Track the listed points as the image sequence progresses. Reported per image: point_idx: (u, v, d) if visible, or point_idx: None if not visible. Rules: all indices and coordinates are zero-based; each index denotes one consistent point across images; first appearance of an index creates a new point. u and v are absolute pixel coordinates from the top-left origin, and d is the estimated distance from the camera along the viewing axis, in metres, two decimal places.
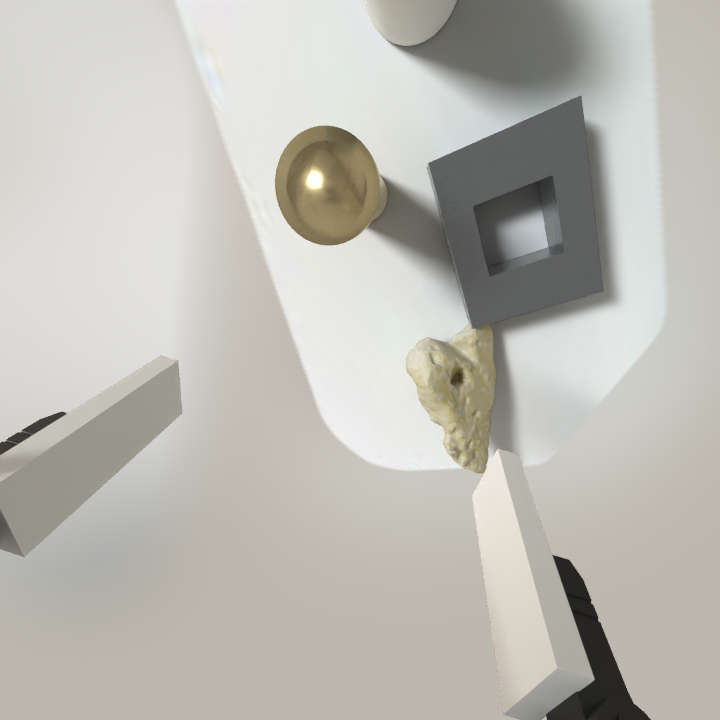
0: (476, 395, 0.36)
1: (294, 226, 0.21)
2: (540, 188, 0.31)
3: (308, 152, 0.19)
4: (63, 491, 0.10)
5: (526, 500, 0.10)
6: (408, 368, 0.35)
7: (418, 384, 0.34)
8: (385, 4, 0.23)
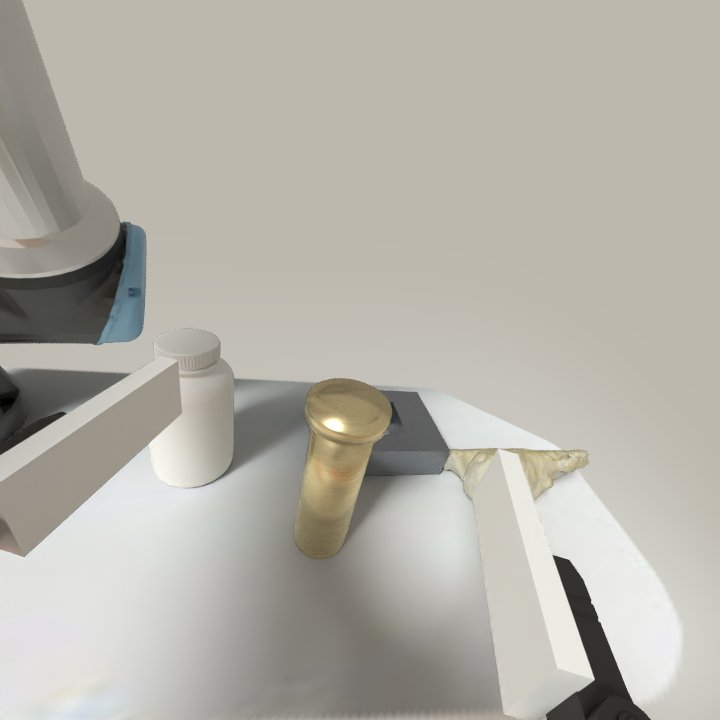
0: None
1: (373, 428, 0.23)
2: None
3: (321, 403, 0.24)
4: (63, 491, 0.10)
5: (526, 500, 0.10)
6: None
7: None
8: (217, 435, 0.32)
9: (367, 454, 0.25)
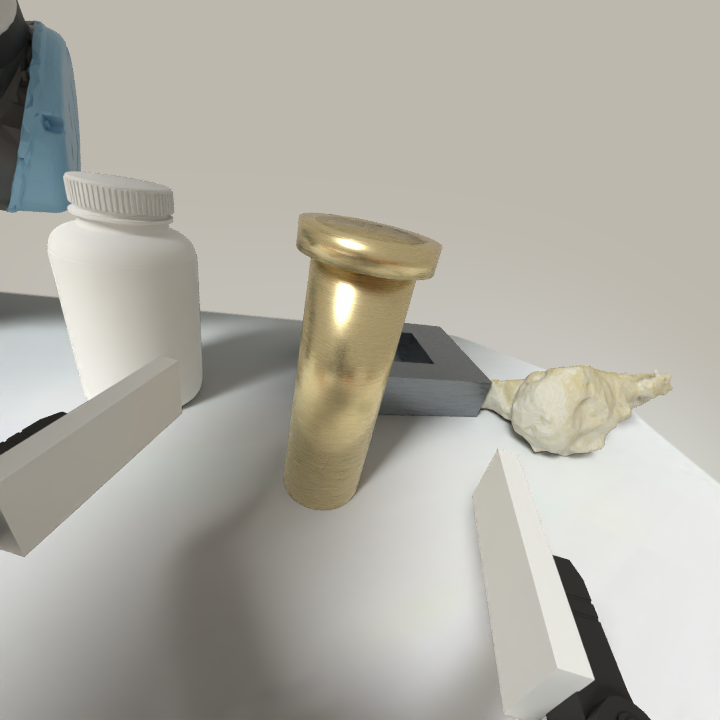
0: None
1: (417, 248, 0.13)
2: None
3: (324, 222, 0.14)
4: (63, 491, 0.10)
5: (526, 500, 0.10)
6: (567, 411, 0.25)
7: (585, 388, 0.25)
8: (171, 336, 0.22)
9: (400, 321, 0.15)
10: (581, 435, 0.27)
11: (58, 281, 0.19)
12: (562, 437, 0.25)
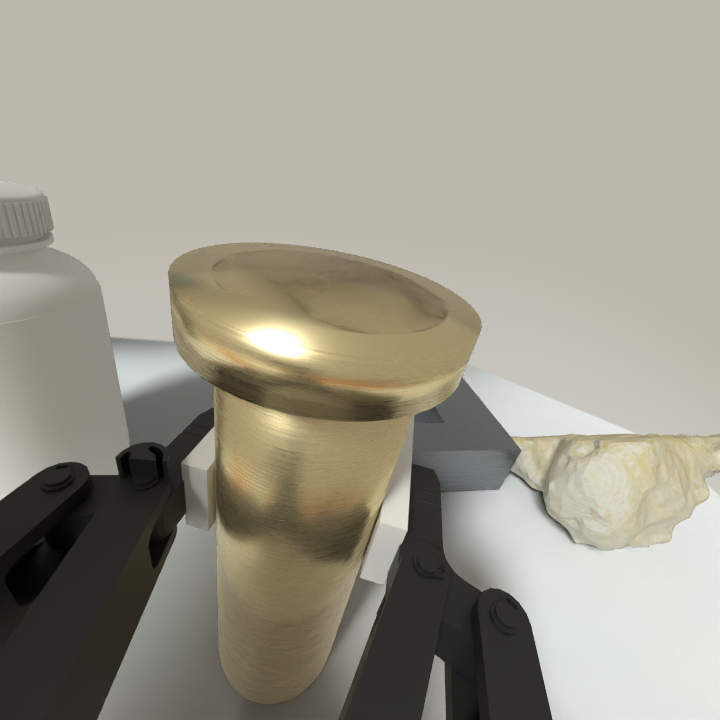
0: (609, 435, 0.24)
1: (431, 346, 0.05)
2: None
3: (230, 271, 0.07)
4: None
5: None
6: (631, 505, 0.17)
7: (655, 472, 0.18)
8: (52, 416, 0.15)
9: (393, 456, 0.08)
10: None
11: None
12: (621, 537, 0.18)
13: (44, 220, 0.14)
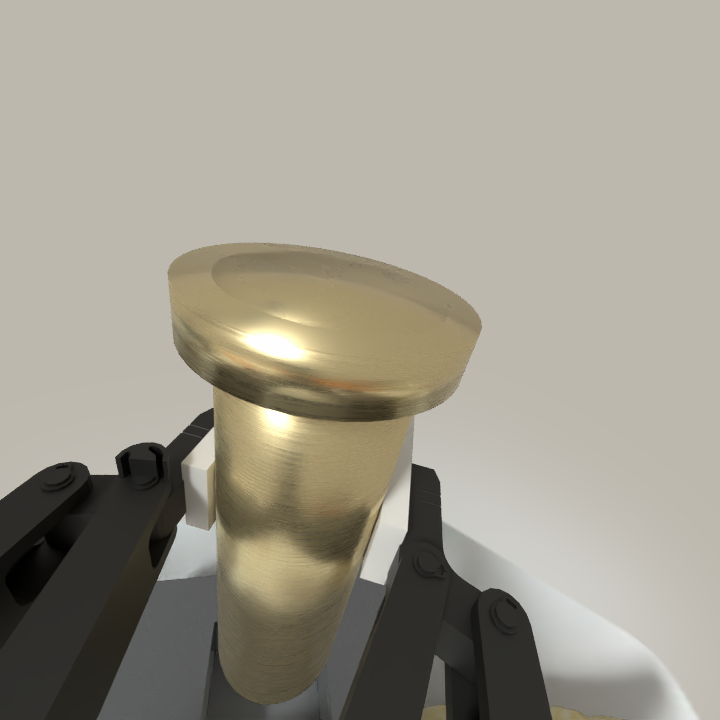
0: None
1: (431, 346, 0.05)
2: None
3: (230, 271, 0.07)
4: None
5: None
6: None
7: None
8: None
9: (393, 457, 0.08)
10: None
11: None
12: None
13: None
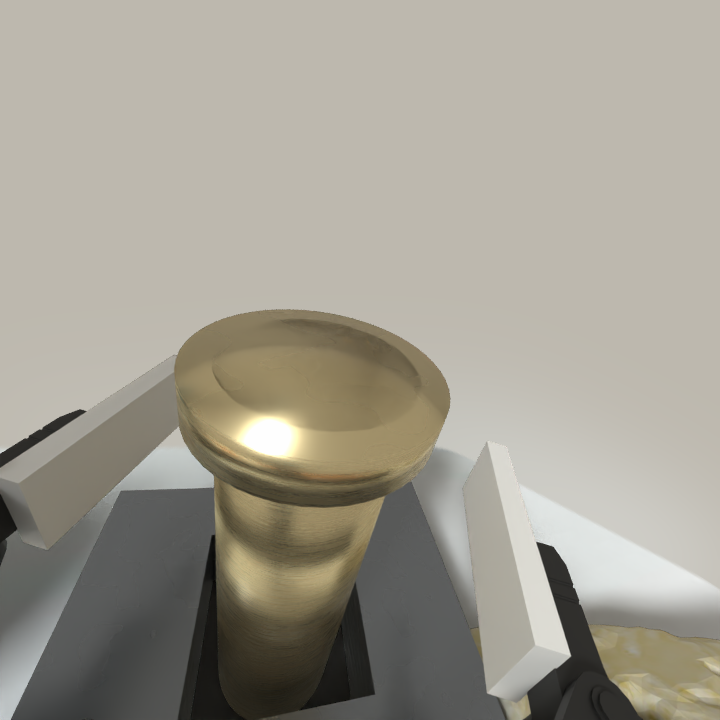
0: (664, 667, 0.13)
1: (400, 442, 0.06)
2: None
3: (228, 359, 0.07)
4: (84, 486, 0.10)
5: (513, 489, 0.11)
6: None
7: None
8: None
9: (375, 512, 0.09)
10: None
11: None
12: None
13: None
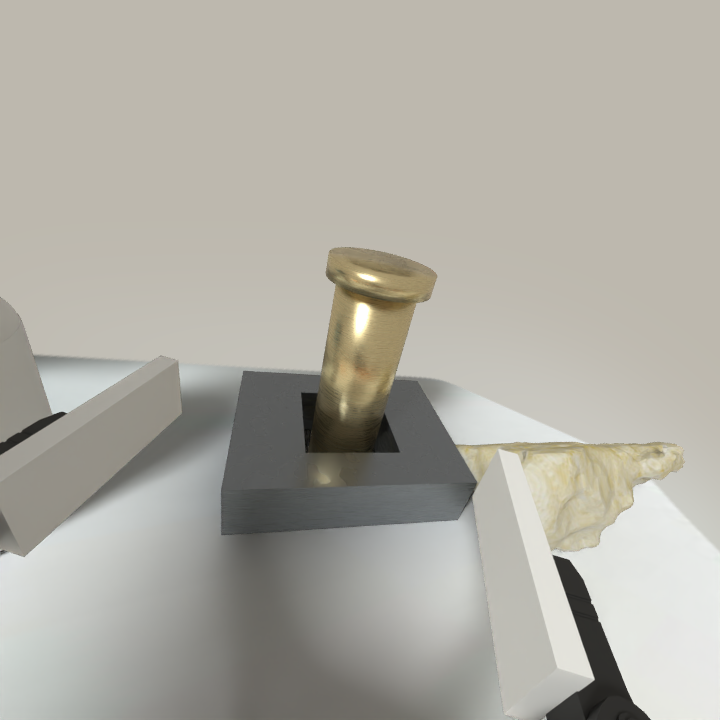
0: (550, 444, 0.25)
1: (417, 279, 0.17)
2: (307, 425, 0.29)
3: (348, 257, 0.19)
4: (63, 491, 0.10)
5: (526, 500, 0.10)
6: (550, 513, 0.19)
7: (573, 482, 0.19)
8: None
9: (404, 332, 0.20)
10: (569, 534, 0.21)
11: None
12: None
13: None
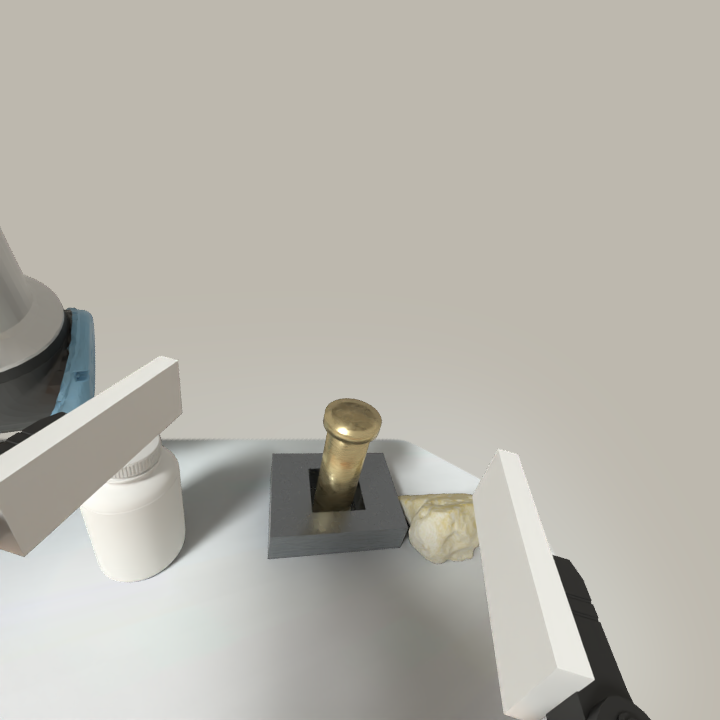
0: (454, 497, 0.43)
1: (369, 433, 0.35)
2: (312, 486, 0.46)
3: (334, 416, 0.36)
4: (63, 491, 0.10)
5: (526, 500, 0.10)
6: (438, 543, 0.37)
7: (450, 527, 0.37)
8: (160, 532, 0.32)
9: (365, 450, 0.38)
10: (454, 552, 0.39)
11: (83, 515, 0.29)
12: (437, 558, 0.37)
13: (160, 449, 0.30)
